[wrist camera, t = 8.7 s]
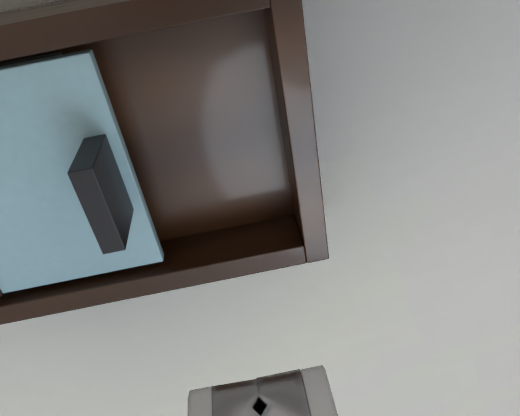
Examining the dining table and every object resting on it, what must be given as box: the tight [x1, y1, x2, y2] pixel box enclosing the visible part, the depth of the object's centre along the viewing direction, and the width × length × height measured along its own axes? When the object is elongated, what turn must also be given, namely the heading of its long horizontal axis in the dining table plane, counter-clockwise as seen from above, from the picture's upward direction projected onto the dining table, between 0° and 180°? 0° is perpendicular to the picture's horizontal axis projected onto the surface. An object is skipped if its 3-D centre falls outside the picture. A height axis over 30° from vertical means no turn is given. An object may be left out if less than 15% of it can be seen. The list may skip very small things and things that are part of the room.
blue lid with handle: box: [0, 49, 164, 296], centre depth 21 cm, size 11×9×4 cm
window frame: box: [0, 0, 329, 325], centre depth 23 cm, size 14×20×4 cm
